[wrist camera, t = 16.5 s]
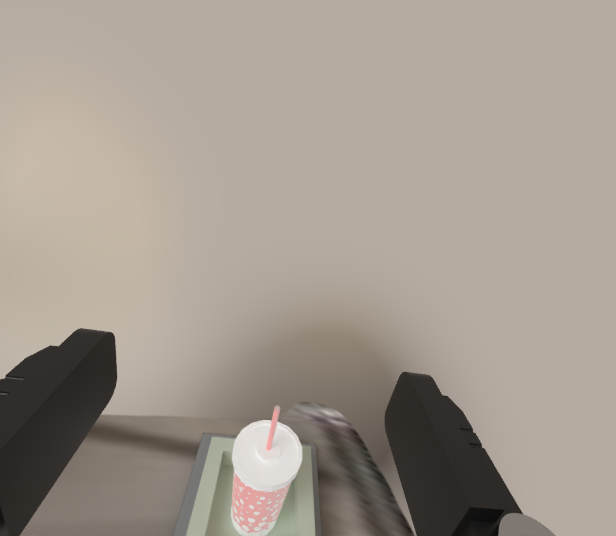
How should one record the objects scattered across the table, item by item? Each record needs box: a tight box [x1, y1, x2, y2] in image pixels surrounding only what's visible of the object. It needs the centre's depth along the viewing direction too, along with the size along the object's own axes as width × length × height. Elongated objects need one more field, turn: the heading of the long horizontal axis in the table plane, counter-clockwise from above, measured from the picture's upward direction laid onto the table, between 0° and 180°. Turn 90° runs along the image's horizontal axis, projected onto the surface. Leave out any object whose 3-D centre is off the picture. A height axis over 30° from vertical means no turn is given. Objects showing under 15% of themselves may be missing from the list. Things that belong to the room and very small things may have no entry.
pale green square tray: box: [173, 433, 322, 536], centre depth 33 cm, size 14×14×4 cm
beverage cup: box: [231, 406, 302, 536], centre depth 28 cm, size 6×6×14 cm
